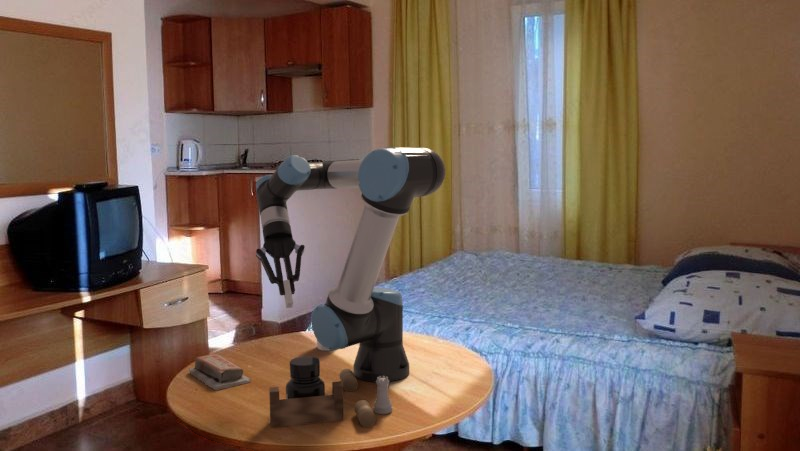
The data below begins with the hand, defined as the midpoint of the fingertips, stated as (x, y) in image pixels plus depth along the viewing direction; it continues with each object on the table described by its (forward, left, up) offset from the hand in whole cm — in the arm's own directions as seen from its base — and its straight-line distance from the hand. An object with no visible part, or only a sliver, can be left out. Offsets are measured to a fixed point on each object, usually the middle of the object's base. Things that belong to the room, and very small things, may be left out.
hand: (289, 305), depth 170 cm
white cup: (-13, -32, -22) cm, 41 cm away
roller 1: (-14, +3, -22) cm, 26 cm away
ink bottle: (-2, +16, -22) cm, 27 cm away
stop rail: (-2, +22, -21) cm, 31 cm away
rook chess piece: (-19, +21, -22) cm, 36 cm away
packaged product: (+18, -13, -22) cm, 31 cm away
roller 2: (-14, +25, -22) cm, 36 cm away
